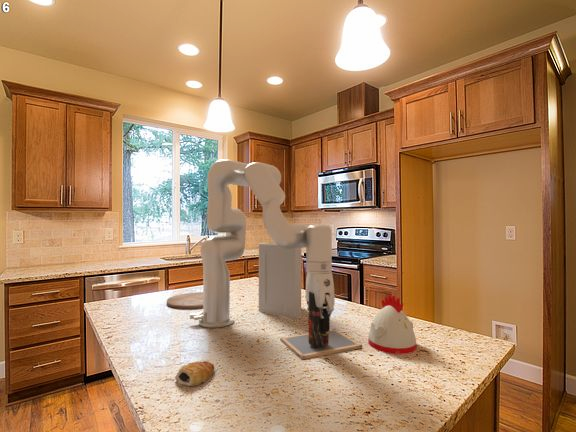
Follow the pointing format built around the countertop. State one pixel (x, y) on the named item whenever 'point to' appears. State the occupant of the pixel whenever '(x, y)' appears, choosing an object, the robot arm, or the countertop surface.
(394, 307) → the kitchen timer
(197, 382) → the pastry
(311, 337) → the deodorant
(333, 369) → the countertop surface
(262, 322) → the countertop surface
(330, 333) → the slate board
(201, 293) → the trivet
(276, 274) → the tall white carton
